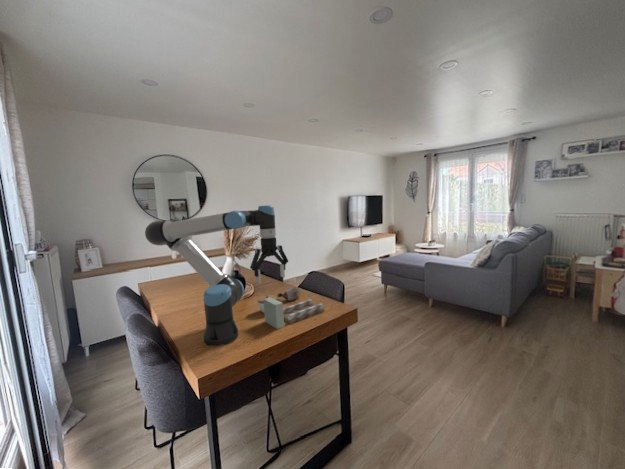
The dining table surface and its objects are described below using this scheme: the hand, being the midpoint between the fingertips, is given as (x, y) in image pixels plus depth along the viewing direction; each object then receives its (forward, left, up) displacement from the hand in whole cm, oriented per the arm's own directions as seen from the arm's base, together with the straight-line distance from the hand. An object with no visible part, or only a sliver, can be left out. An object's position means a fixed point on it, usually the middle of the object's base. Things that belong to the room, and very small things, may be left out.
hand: (271, 279), depth 128 cm
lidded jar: (+6, +17, -23) cm, 29 cm away
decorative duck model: (+27, +25, -23) cm, 43 cm away
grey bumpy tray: (+17, 0, -23) cm, 28 cm away
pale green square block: (0, 0, -23) cm, 23 cm away
